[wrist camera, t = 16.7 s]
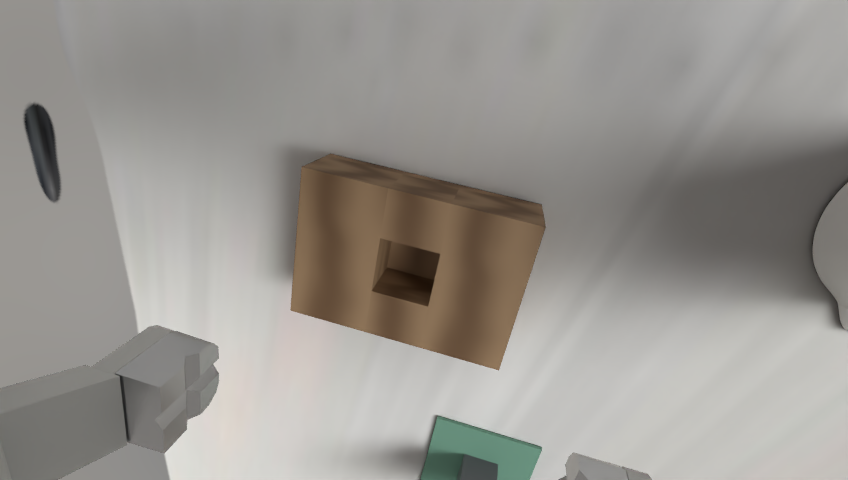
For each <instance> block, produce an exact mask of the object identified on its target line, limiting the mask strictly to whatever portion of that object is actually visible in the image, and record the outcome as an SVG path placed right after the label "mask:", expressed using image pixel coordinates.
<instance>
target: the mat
mask: <svg viewBox="0 0 848 480" xmlns="http://www.w3.org/2000/svg"><path fill="white" fill-rule="evenodd" d="M541 451H542V447H539V446H536V445H533V444H530V443H526V442H523V441H520V440H516V439H513V438H510V437H507V436H503V435H500V434H497V433H493V432H490V431H487V430H484V429H480V428H477V427H474V426H470V425H467V424H464V423H460V422H457V421H454V420H451V419H447V418H444V417H441V416H438V417H437V420H436V424H435V428H434V431H433V435H432V439H431V442H430V446H429V450H428V454H427V457H426V461H425V465H424V468H423V472H422V476H421V479H420V480H457V475H458V472H459V469H460V466H461V463H462V460H463V457H464V454H467V455H470V456H473V457H476V458H480V459H483V460H486V461H489V462H492V463H496V464H498V476H497V480H529V479H530V477H531V475H532V472H533V470H534V467H535V465H536V463H537V460H538V458H539V455H540V453H541Z"/></svg>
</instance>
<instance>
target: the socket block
mask: <svg viewBox="0 0 848 480" xmlns="http://www.w3.org/2000/svg"><path fill="white" fill-rule="evenodd" d="M545 228H546V226H545V221H544V215H543V209H542V205H541V204H537V203H533V202H528V201H524V200H520V199H516V198H512V197H508V196H504V195H499V194H495V193H491V192H487V191H483V190H479V189H475V188H470V187H466V186H462V185H458V184H454V183H450V182H446V181H441V180H437V179H433V178H429V177H425V176H421V175H417V174H413V173H408V172H404V171H400V170H396V169H392V168H388V167H384V166H379V165H375V164H371V163H367V162H363V161H359V160H355V159H350V158H346V157H342V156H338V155H334V154H329V155H327V156H325V157H322V158H320V159H318V160H316V161H314V162H311V163H309V164H307V165H305V166H303V167H302V169H301V182H300V195H299V208H298V221H297V234H296V246H295V259H294V272H293V285H292V298H291V311H294V312H298V313H301V314H305V315H308V316H312V317H315V318H319V319H322V320H326V321H329V322H333V323H336V324H340V325H343V326H347V327H350V328H354V329H357V330H360V331H364V332H367V333H371V334H374V335H378V336H381V337H385V338H388V339H392V340H395V341H399V342H402V343H406V344H409V345H413V346H416V347H420V348H423V349H427V350H430V351H434V352H437V353H441V354H444V355H447V356H451V357H454V358H458V359H461V360H465V361H468V362H472V363H475V364H479V365H482V366H486V367H489V368H493V369H496V370H499V368H500V365H501V362H502V359H503V356H504V353H505V350H506V347H507V344H508V341H509V338H510V335H511V331H512V328H513V325H514V322H515V319H516V316H517V313H518V310H519V307H520V304H521V301H522V298H523V295H524V292H525V289H526V286H527V283H528V280H529V277H530V273H531V270H532V267H533V264H534V261H535V258H536V255H537V252H538V249H539V246H540V243H541V240H542V237H543V234H544V231H545Z"/></svg>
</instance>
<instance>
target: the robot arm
mask: <svg viewBox="0 0 848 480" xmlns="http://www.w3.org/2000/svg"><path fill="white" fill-rule="evenodd" d="M813 261H814V265H815V268H816V271H817V273H818V276H819V277H820V279H821V281H822V282H823V284H824V285H825V286H826V287H827V289H828V290H829V291H830V292H831V293H832V295H833V296H834V297H835V299H836V300H837V302H838V309H839V316H840V321H841V324H842V326H843V328H844V329H845V330H847V331H848V183H847V184H846V185H844V186H843V187H842V189H841V190H840V191H839V192H838V193H837V194H836V195H835V196H834V198H833V199H832V200H831V202H830V203H829V204H828V206H827V207H826V209H825V210H824V212H823V214H822V216H821V218H820V220H819V222H818V225H817V228H816V231H815V235H814V240H813ZM218 359H219V352H218V346H217V345H215V344H214V343H211V342H208V341H205V340H202V339H199V338H196V337H193V336H190V335H187V334H184V333H181V332H178V331H173V330H170V329H167V328H164V327H161V326H158V325H155V326H150V327H148V328H147V329H145V330H144V331H142V332H141V333H139V334H138V335H137V336H135V337H134V338H132V339H131V340H129V341H128V342H126V343H125V344H123V345H122V346H121V347H119V348H118V349H116V350H115V351H114V352H112V353H111V354H109V355H108V356H106V357H105V358H103V359H102V360H100V361H99V362H97V363H96V364H95V365H93V366H92V367H90V366H86V365H83V366H79V367H76V368H72V369H68V370H65V371H61V372H57V373H54V374H50V375H46V376H43V377H39V378H36V379H32V380H28V381H24V382H21V383H17V384H13V385H10V386H6V387H2V388H0V480H58V479H60V478H62V477H64V476H66V475H68V474H70V473H72V472H74V471H76V470H78V469H80V468H82V467H84V466H86V465H88V464H90V463H92V462H94V461H96V460H98V459H100V458H102V457H104V456H106V455H108V454H110V453H112V452H114V451H116V450H118V449H120V448H122V447H124V446H126V445H127V442H129V443H132V444H135V445H138V446H142V447H145V448H148V449H152V450H155V451H158V452H161V453H165V452H166V451H167V450H168V449H169V448H170V447H171V446H172V445H173V444H174V443H175V441H176V440H177V439H178V438H179V437H180V436H181V435H182V434H183V433H184V432H185V431H186V430H187V420H188V419H190V418H193V417H195V416H197V415H200V414H201V413H202V412H203V411H204V410H205V409H206V408H207V406H208V405H209V404H210V402H211V400H212V399H213V397H214V395H215V393H216V390H217V386H218V383H219V373H218V372H217V370H216V368H215V367H214V365H213V363H214V362H215V361H217V360H218ZM565 466H566V475H567V476H565V477H563V478H561V479H559V480H652V479H651V478H650V476H649V475H648V474H646V473H643V472H639V471H636V470H632V469H629V468H626V467H620V466H618V465H615V464H611V463H608V462H604V461H601V460H598V459H594V458H591V457H587V456H584V455H581V454H577V453H574V452H573V453H572V454H571V455H570V456H569V458H568V460H567V462H566V464H565Z"/></svg>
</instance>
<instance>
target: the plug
mask: <svg viewBox="0 0 848 480" xmlns="http://www.w3.org/2000/svg"><path fill="white" fill-rule="evenodd" d="M497 476H498V464H496V463H492V462H489V461H486V460H483V459H480V458H476V457H473V456H470V455H467V454H464V457H463V460H462V463H461V466H460V469H459V472H458V475H457V480H497Z"/></svg>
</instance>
